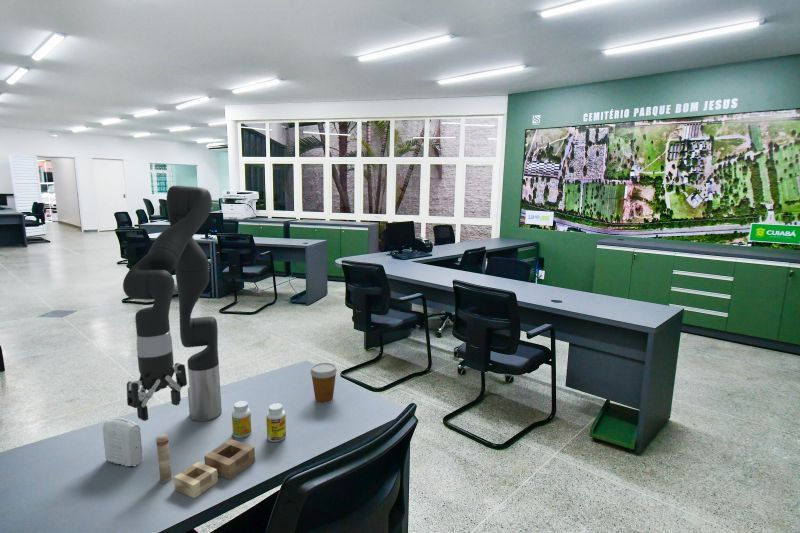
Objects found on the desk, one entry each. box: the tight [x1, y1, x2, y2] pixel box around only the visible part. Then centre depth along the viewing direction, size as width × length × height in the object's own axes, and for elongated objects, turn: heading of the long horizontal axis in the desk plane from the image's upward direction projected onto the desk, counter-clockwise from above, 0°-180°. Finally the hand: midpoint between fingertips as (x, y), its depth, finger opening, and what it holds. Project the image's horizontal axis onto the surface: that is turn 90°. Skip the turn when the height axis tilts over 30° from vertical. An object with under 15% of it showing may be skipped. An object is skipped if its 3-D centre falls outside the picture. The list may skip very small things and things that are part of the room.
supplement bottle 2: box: [265, 402, 287, 443], centre depth 131 cm, size 6×6×10 cm
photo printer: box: [102, 417, 143, 467], centre depth 119 cm, size 10×4×12 cm, turn 72°
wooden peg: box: [155, 433, 172, 483], centre depth 111 cm, size 3×3×12 cm
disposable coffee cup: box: [309, 362, 338, 404], centre depth 156 cm, size 10×10×12 cm
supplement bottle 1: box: [231, 400, 252, 439], centre depth 133 cm, size 5×5×10 cm
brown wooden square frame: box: [203, 438, 256, 480], centre depth 118 cm, size 9×9×4 cm
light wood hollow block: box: [173, 461, 219, 499], centre depth 110 cm, size 7×7×4 cm
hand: (160, 411), depth 109 cm, fingers open, 8 cm apart
